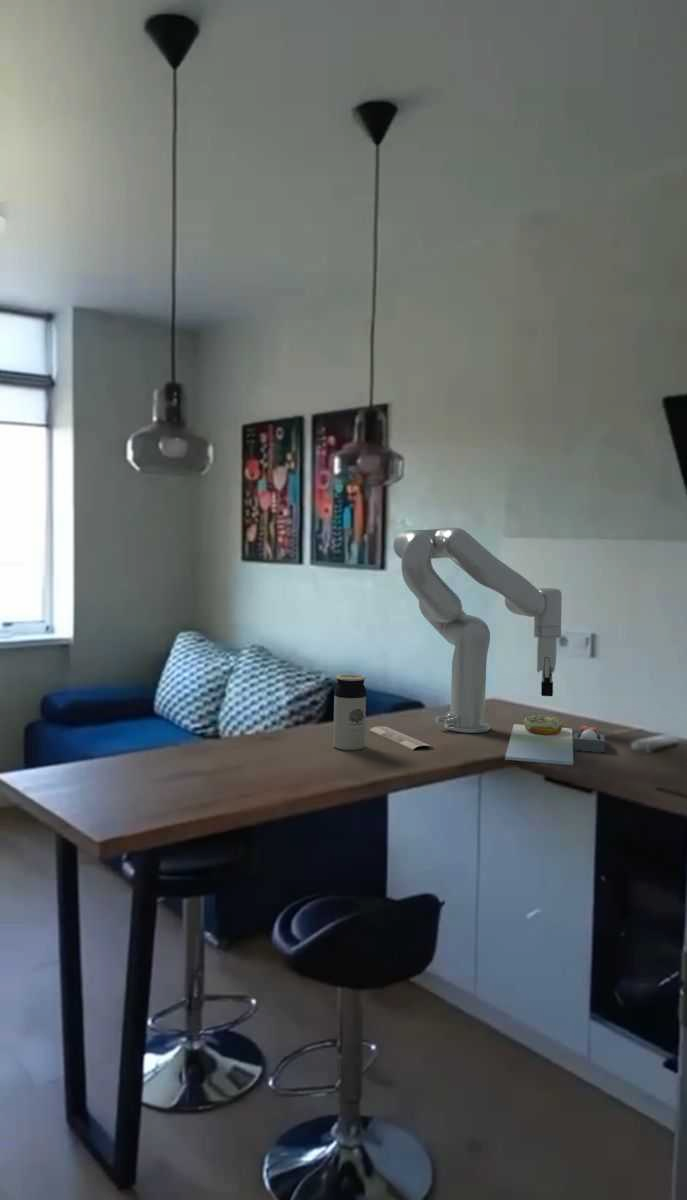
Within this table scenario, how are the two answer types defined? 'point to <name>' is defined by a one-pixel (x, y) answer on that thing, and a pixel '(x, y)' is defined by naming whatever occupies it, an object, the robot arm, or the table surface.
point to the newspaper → (398, 737)
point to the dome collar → (589, 743)
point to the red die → (587, 728)
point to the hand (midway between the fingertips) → (547, 695)
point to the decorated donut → (543, 724)
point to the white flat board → (540, 746)
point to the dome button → (589, 734)
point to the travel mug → (349, 712)
